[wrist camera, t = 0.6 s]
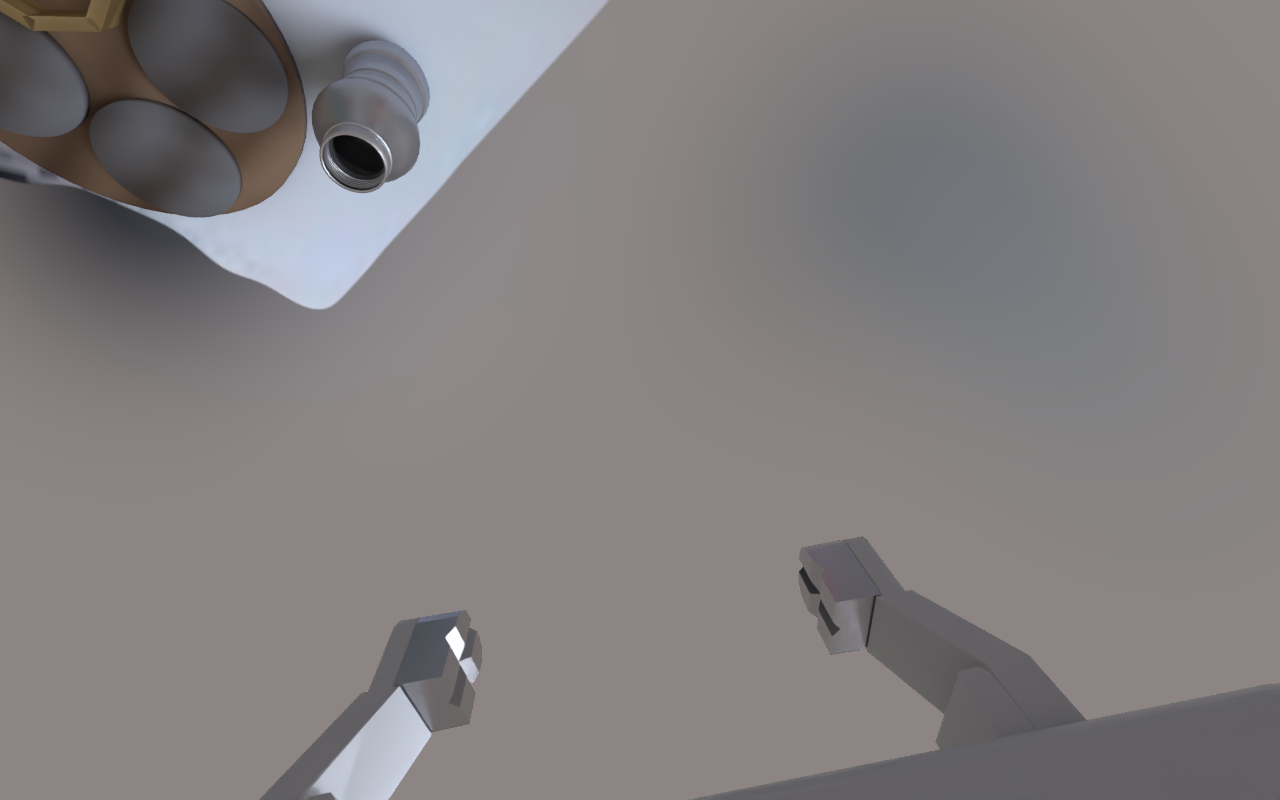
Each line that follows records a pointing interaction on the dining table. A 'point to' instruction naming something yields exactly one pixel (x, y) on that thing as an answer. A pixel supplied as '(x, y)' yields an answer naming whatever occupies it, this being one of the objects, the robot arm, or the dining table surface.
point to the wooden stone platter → (153, 99)
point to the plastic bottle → (371, 117)
